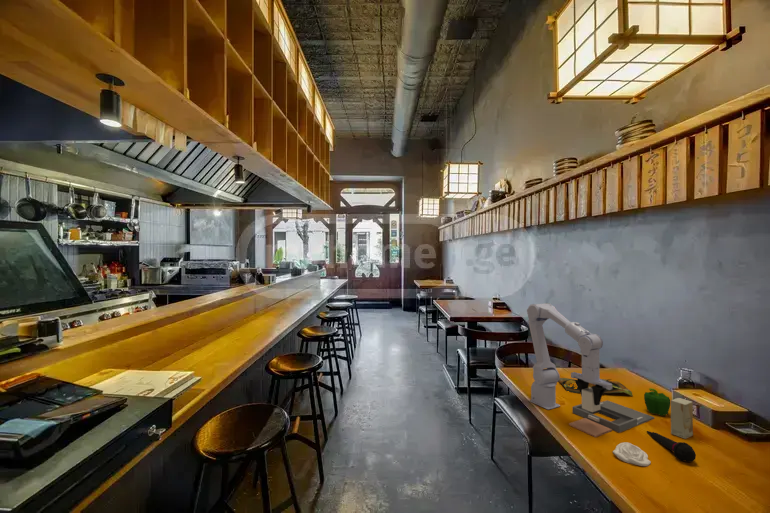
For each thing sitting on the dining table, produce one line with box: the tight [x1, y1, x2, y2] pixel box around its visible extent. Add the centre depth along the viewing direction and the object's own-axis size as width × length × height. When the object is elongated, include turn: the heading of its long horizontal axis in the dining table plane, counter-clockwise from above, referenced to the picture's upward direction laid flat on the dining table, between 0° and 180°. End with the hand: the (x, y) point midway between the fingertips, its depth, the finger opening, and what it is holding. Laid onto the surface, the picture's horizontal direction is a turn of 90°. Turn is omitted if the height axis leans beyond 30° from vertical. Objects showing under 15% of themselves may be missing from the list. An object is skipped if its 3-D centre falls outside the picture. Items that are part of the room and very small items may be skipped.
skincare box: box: [670, 397, 694, 440], centre depth 121 cm, size 6×4×12 cm
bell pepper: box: [643, 387, 671, 417], centre depth 138 cm, size 8×8×10 cm
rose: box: [612, 441, 652, 467], centre depth 107 cm, size 10×4×10 cm
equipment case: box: [571, 399, 655, 434], centre depth 135 cm, size 18×25×2 cm
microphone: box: [646, 430, 697, 463], centre depth 112 cm, size 6×6×20 cm
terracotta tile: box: [568, 417, 613, 438], centre depth 126 cm, size 10×10×1 cm
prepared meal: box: [557, 377, 634, 397], centre depth 165 cm, size 28×4×18 cm
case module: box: [581, 387, 600, 412], centre depth 126 cm, size 4×5×7 cm
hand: (590, 402), depth 126 cm, fingers closed on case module, 4 cm apart
